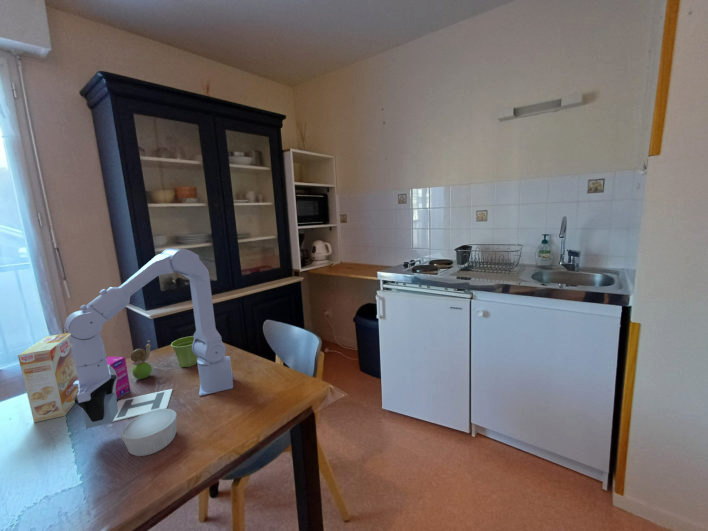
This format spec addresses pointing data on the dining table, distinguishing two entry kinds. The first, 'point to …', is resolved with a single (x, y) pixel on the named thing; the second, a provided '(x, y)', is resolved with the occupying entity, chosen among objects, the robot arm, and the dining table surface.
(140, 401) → the letter sheet
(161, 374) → the dining table surface
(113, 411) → the blue cube
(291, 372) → the dining table surface
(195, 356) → the plant pot
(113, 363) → the supplement box
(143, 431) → the ramekin
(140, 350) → the snail figurine
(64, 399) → the coffeecake box
